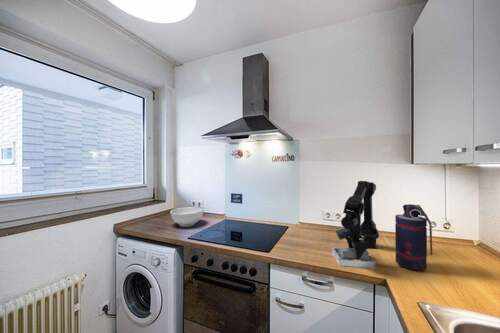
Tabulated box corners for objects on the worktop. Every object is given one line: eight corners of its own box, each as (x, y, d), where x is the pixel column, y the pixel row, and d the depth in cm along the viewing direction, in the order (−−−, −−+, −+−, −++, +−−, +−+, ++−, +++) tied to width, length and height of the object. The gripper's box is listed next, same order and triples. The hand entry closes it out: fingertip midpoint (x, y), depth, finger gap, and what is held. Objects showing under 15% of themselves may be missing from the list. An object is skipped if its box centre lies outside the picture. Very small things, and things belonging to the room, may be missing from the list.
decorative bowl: (162, 228, 155) (162, 212, 155) (183, 219, 181) (183, 206, 181) (192, 231, 147) (192, 215, 147) (209, 221, 173) (209, 208, 173)
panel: (365, 260, 100) (365, 249, 100) (368, 264, 96) (368, 252, 96) (340, 259, 102) (340, 247, 102) (342, 262, 98) (342, 250, 98)
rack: (362, 254, 109) (362, 248, 109) (375, 268, 94) (375, 261, 94) (331, 252, 111) (331, 246, 111) (339, 265, 96) (339, 258, 96)
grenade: (393, 265, 96) (393, 204, 96) (397, 258, 104) (397, 201, 105) (431, 277, 86) (431, 209, 86) (433, 267, 95) (433, 205, 95)
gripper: (332, 219, 109) (332, 247, 109) (343, 229, 91) (343, 263, 91) (353, 219, 108) (353, 248, 108) (369, 230, 89) (369, 265, 89)
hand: (354, 255), depth 99 cm, fingers open, 9 cm apart
